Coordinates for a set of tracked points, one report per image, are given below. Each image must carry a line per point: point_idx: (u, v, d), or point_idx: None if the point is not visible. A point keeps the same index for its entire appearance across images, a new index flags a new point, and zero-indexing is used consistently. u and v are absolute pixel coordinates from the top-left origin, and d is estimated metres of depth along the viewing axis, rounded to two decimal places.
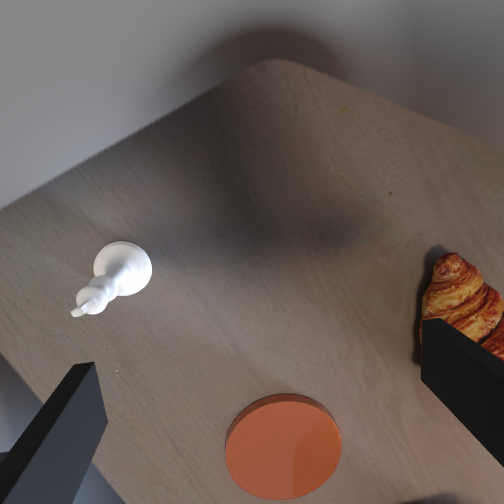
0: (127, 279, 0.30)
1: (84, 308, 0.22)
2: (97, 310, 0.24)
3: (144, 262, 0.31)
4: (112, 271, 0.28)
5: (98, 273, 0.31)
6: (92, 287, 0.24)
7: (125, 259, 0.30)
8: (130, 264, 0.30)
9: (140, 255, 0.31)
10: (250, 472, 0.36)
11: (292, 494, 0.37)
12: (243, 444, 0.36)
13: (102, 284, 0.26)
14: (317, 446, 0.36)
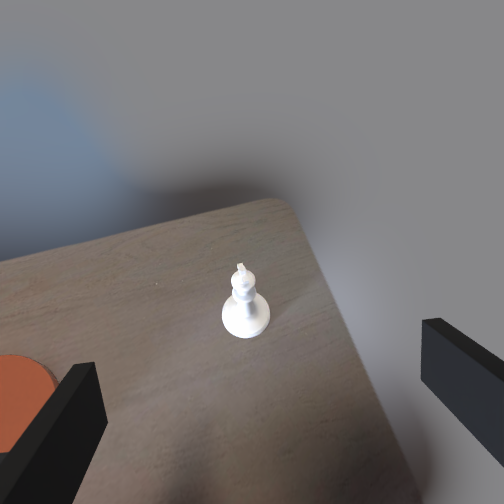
0: (238, 314, 0.34)
1: (243, 272, 0.28)
2: (234, 281, 0.29)
3: (248, 332, 0.34)
4: (251, 303, 0.33)
5: None
6: (253, 283, 0.29)
7: (255, 317, 0.35)
8: (250, 319, 0.35)
9: (254, 330, 0.34)
10: None
11: None
12: (23, 379, 0.32)
13: (249, 292, 0.31)
14: None
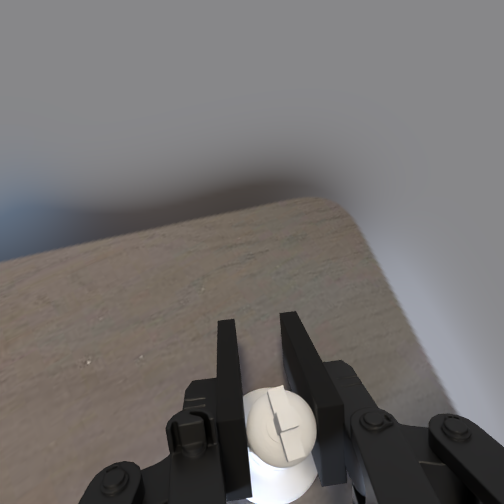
0: None
1: (289, 429, 0.09)
2: (256, 435, 0.10)
3: (277, 499, 0.15)
4: None
5: None
6: (313, 442, 0.10)
7: None
8: None
9: (291, 495, 0.15)
10: None
11: None
12: None
13: None
14: None
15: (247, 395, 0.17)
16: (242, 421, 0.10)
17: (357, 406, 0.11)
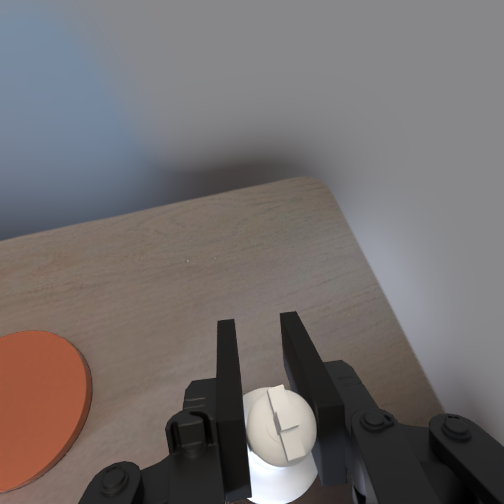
0: None
1: (289, 428, 0.09)
2: (256, 434, 0.10)
3: (277, 499, 0.15)
4: None
5: None
6: (313, 441, 0.10)
7: None
8: None
9: (292, 494, 0.15)
10: (9, 355, 0.30)
11: None
12: (49, 356, 0.30)
13: None
14: None
15: (247, 395, 0.17)
16: (242, 421, 0.10)
17: (357, 406, 0.11)
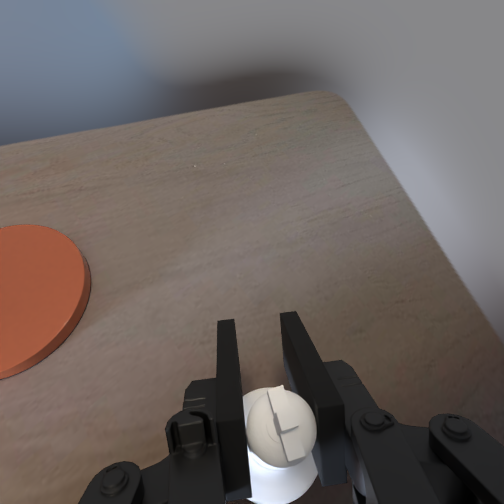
0: None
1: (290, 429, 0.09)
2: (256, 435, 0.10)
3: (277, 499, 0.15)
4: None
5: None
6: (314, 442, 0.10)
7: None
8: None
9: (292, 495, 0.15)
10: (0, 247, 0.27)
11: None
12: (45, 248, 0.27)
13: None
14: None
15: (247, 395, 0.17)
16: (242, 421, 0.10)
17: (357, 406, 0.11)
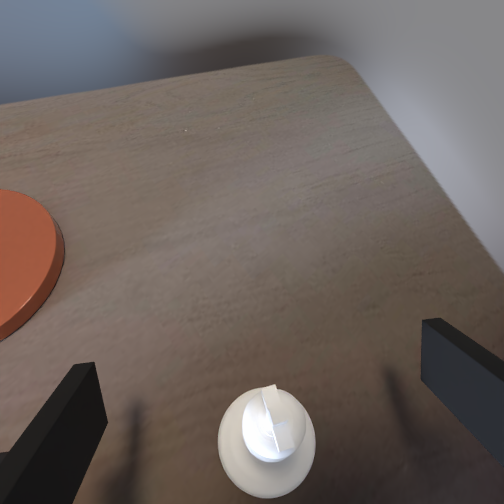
0: None
1: (280, 423, 0.10)
2: (251, 429, 0.11)
3: (272, 491, 0.16)
4: None
5: None
6: (303, 435, 0.11)
7: (287, 456, 0.17)
8: (276, 462, 0.16)
9: (286, 488, 0.16)
10: None
11: None
12: (12, 214, 0.24)
13: None
14: None
15: (244, 394, 0.18)
16: None
17: None
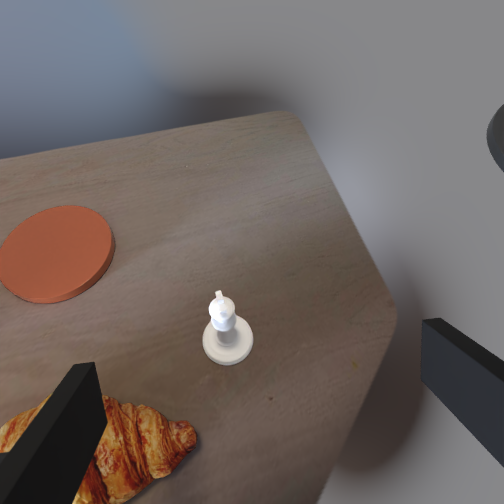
0: (219, 340, 0.33)
1: (221, 301, 0.26)
2: (212, 309, 0.27)
3: (228, 359, 0.33)
4: (232, 330, 0.32)
5: None
6: (232, 312, 0.27)
7: (236, 344, 0.33)
8: (231, 346, 0.33)
9: (235, 358, 0.33)
10: (53, 220, 0.41)
11: (7, 246, 0.39)
12: (83, 220, 0.41)
13: (229, 319, 0.29)
14: (42, 276, 0.37)
15: None
16: None
17: None
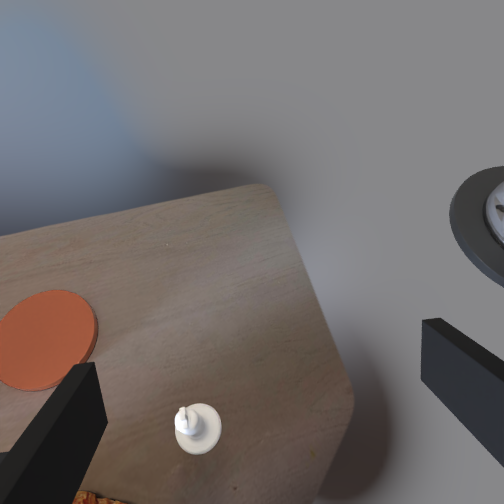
0: None
1: (183, 420, 0.30)
2: (177, 422, 0.31)
3: (197, 451, 0.36)
4: None
5: (201, 408, 0.38)
6: (195, 424, 0.31)
7: (205, 435, 0.36)
8: (200, 438, 0.36)
9: (204, 449, 0.36)
10: (41, 305, 0.44)
11: None
12: (69, 306, 0.44)
13: None
14: (30, 365, 0.40)
15: (188, 407, 0.38)
16: None
17: None
